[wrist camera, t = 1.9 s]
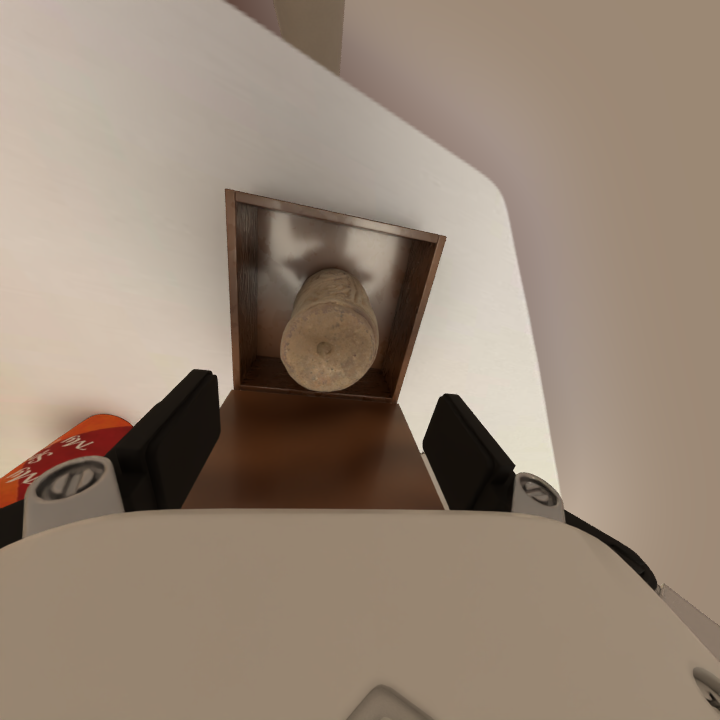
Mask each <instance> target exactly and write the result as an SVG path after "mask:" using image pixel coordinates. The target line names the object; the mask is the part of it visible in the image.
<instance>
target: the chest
mask: <svg viewBox="0 0 720 720" xmlns="http://www.w3.org/2000/svg"><path fill="white" fill-rule="evenodd" d="M225 202H226V225H227V247H228V270H229V293H230V316H231V339H232V361H233V384H234V390H243V391H255V392H267V393H278V394H290V395H302V396H314V397H326V398H338V399H349V400H361V401H373V402H385V403H397V400H398V397H399V394H400V390H401V387H402V384H403V380H404V377H405V374H406V370H407V367H408V364H409V360H410V357H411V354H412V351H413V347H414V344H415V341H416V337H417V334H418V331H419V327H420V324H421V321H422V317H423V314H424V311H425V307H426V304H427V301H428V297H429V294H430V291H431V287H432V284H433V281H434V277H435V274H436V271H437V267H438V264H439V261H440V257H441V254H442V251H443V247H444V244H445V241H446V236H442V235H438V234H433V233H429V232H424V231H419V230H415V229H410V228H406V227H401V226H396V225H392V224H387V223H383V222H378V221H373V220H369V219H364V218H360V217H355V216H350V215H346V214H341V213H337V212H332V211H327V210H323V209H318V208H314V207H309V206H304V205H300V204H295V203H291V202H286V201H281V200H277V199H272V198H268V197H263V196H258V195H254V194H249V193H245V192H240V191H235V190H231V189H225ZM324 269H340V270H343V271H345V272H348V273H350V274H351V275H353V276H354V277H356V278H357V279H358V281H359V282H360V283H361V285H362V286H363V288H364V289H365V291H366V294H367V296H368V298H369V302H370V305H371V308H372V310H373V311H374V314H375V316H376V320H377V325H378V332H379V344H378V350H377V354H376V357H375V360H374V362H373V364H372V365H371V367H370V368H369V369H368V371H367V372H366V373H365V374H364V376H363V377H362V378H361V379H359V380H358V381H357V382H356V383H354V384H353V385H351V386H349V387H347V388H345V389H342V390H338V391H331V392H318V391H312V390H309V389H307V388H305V387H303V386H301V385H300V384H298V383H297V382H296V381H295V380H294V379H293V378H292V377H291V376H290V375H289V373H288V371H287V369H286V367H285V366H284V364H283V362H282V360H281V356H280V347H281V339H282V335H283V332H284V330H285V327H286V325H287V323H288V322H289V321H290V318H291V314H292V312H293V303H294V301H295V298H296V295H297V294H298V292H299V290H300V289H301V287H302V286H303V284H304V283H305V281H306V280H307V279H308V278H310V277H311V276H312V275H314V274H315V273H317V272H319V271H321V270H324Z"/></svg>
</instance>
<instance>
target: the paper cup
mask: <svg viewBox="0 0 720 720" xmlns="http://www.w3.org/2000/svg"><path fill="white" fill-rule="evenodd" d="M132 428H133V426H132V425H131V424H130V423H128V422H127V421H125V420H123V419H121V418H119V417H116V416H113V415H106V414H100V415H94V416H92V417H90V418H88V419H86V420H85V421H83V422H81V423H80V424H78V425H77V426H75V427H74V428H73V429H71V430H70V431H68V432H67V433H65V434H64V435H62V436H61V437H59V438H58V439H57V440H55V441H54V442H52V443H51V444H49V445H48V446H46V447H45V448H44V449H42V450H41V451H39V452H38V453H36V454H35V455H33V456H32V457H31V458H29V459H28V460H26V461H25V462H23V463H22V464H21V465H19V466H18V467H16V468H15V469H13V470H12V471H10V472H9V473H8V474H6V475H5V476H3V477H2V478H0V508H3V507H5V506H8V505H10V504H13V503H15V502H17V501H20V500H22V499H24V497H25V493H26V490H27V488H28V487H29V485H30V484H31V483H32V482H33V481H34V480H35V479H36V478H37V477H39V476H40V475H41V474H43V473H44V472H45V471H47V470H49V469H51V468H53V467H54V466H56V465H58V464H61V463H63V462H66V461H69V460H71V459H75V458H79V457H84V456H103V457H104V456H105V455H106V454H107V453H108V452H109V451H110V450H111V449H112V448H113V447H114V446H115V445H116V444H117V443H118V442H119V441H120V440H121V439H122V438H123V437H124V436H125V435H126V434H127V433H128V432H129V431H130V430H131V429H132Z"/></svg>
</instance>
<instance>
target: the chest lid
mask: <svg viewBox="0 0 720 720" xmlns="http://www.w3.org/2000/svg"><path fill="white" fill-rule="evenodd" d="M220 424H221V432H220V436H219V439H218V440H217V442H216V444H215V446H214V448H213V450H212V452H211V453H210V455H209V457H208V459H207V461H206V463H205V465H204V466H203V468H202V470H201V472H200V474H199V476H198V478H197V479H196V481H195V483H194V485H193V487H192V489H191V491H190V492H189V494H188V496H187V498H186V500H185V502H184V504H183V505H182V507H181V509H228V508H230V509H400V510H445V509H444V507H443V504H442V502H441V500H440V497H439V495H438V493H437V491H436V488H435V486H434V484H433V481H432V479H431V477H430V474H429V472H428V470H427V468H426V465H425V463H424V461H423V458H422V456H421V454H420V452H419V449H418V447H417V445H416V442H415V440H414V438H413V436H412V433H411V431H410V429H409V426H408V424H407V422H406V419H405V417H404V415H403V413H402V410H401V408H400V406H399V404H397V403H385V402H373V401H361V400H349V399H338V398H326V397H314V396H302V395H290V394H278V393H267V392H255V391H243V390H231V392H230V393H229V395H228V396H227V398H226V399H225V401H224V403H223V404H222V406H221V407H220Z"/></svg>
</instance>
